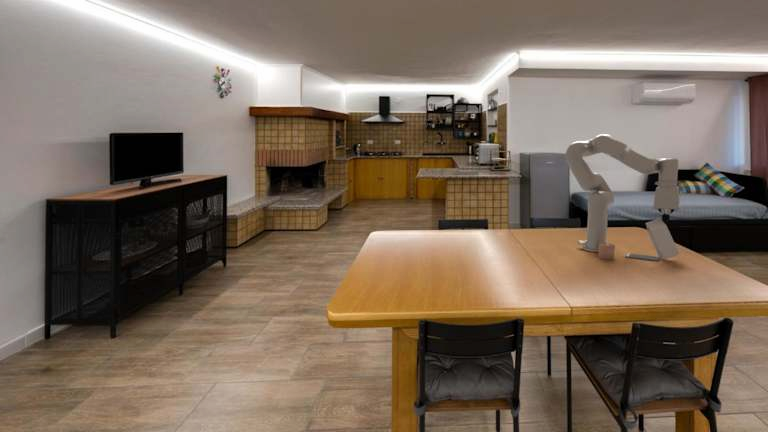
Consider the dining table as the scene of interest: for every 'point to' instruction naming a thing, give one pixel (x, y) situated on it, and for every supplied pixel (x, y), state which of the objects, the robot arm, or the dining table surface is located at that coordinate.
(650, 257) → the grey flat bar
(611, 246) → the tan block
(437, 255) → the dining table surface
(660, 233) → the milk carton
